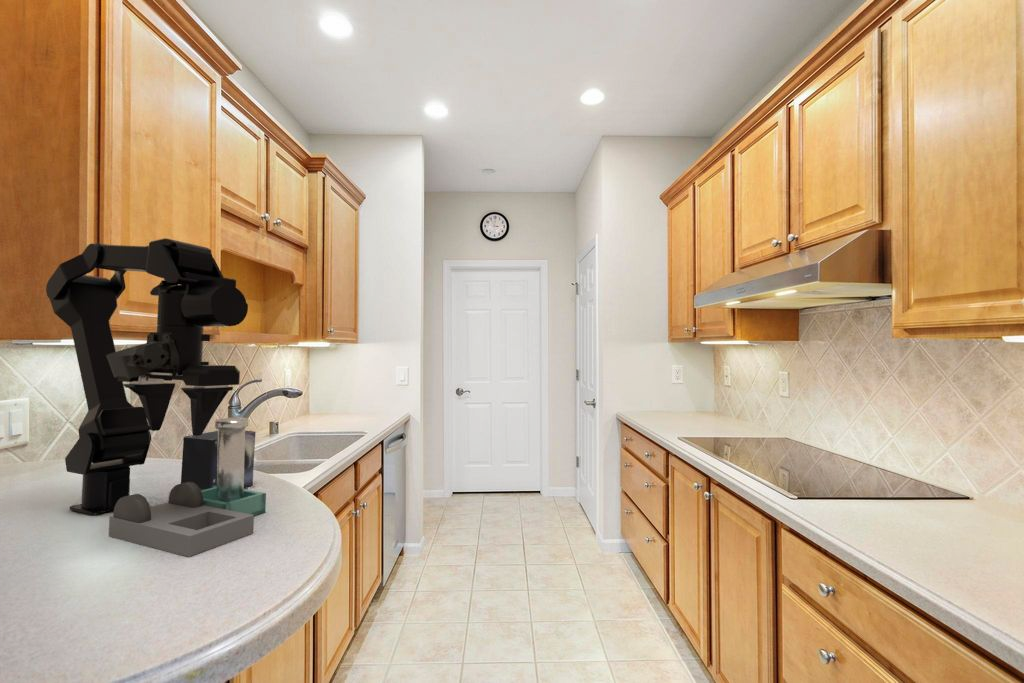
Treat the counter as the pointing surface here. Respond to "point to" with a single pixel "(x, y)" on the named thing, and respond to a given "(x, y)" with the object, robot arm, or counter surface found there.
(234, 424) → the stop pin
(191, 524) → the socket plate with bumps
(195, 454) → the small box
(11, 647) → the counter surface
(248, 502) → the tray
